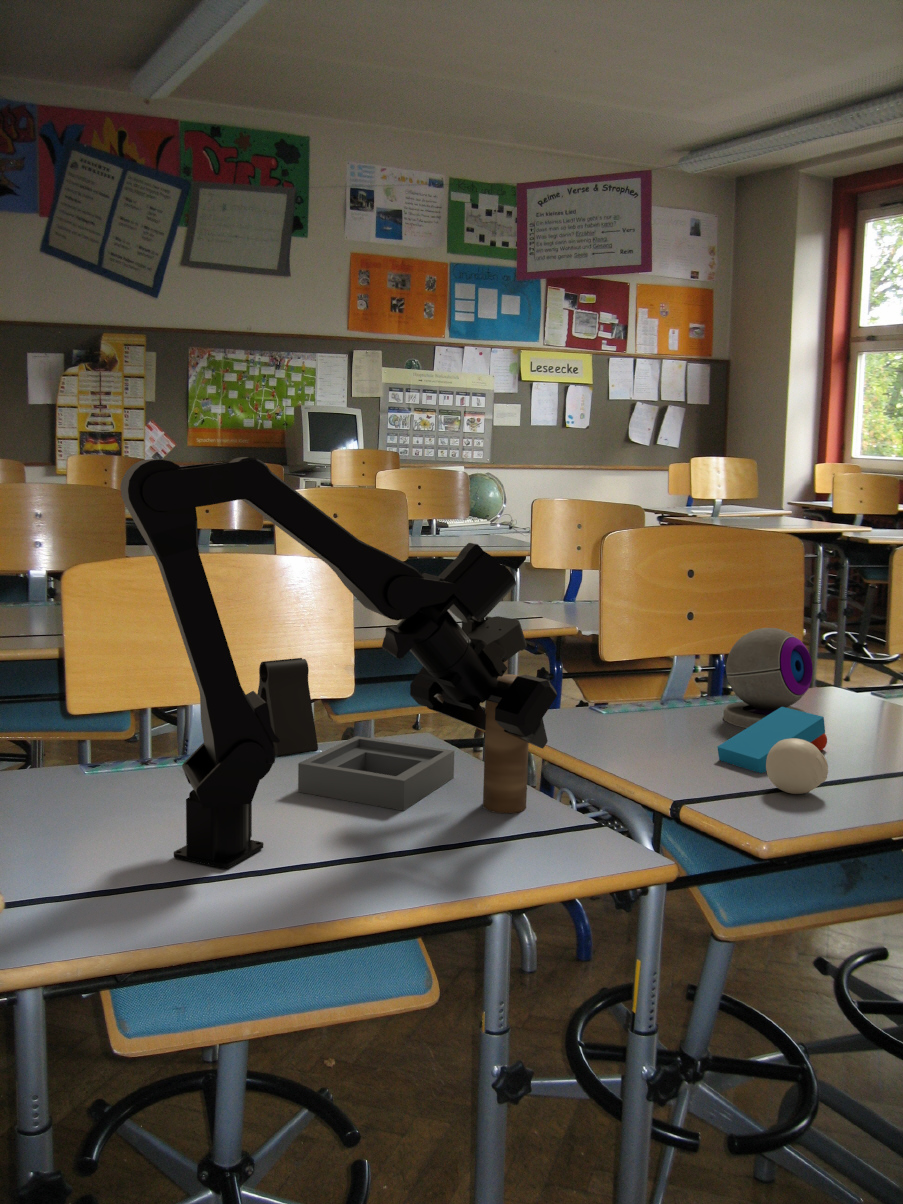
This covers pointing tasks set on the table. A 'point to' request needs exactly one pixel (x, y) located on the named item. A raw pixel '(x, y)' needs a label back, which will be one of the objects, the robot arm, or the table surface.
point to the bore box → (376, 772)
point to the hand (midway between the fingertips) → (515, 736)
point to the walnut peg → (504, 764)
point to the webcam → (766, 674)
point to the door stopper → (288, 704)
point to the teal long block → (772, 737)
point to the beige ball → (796, 766)
